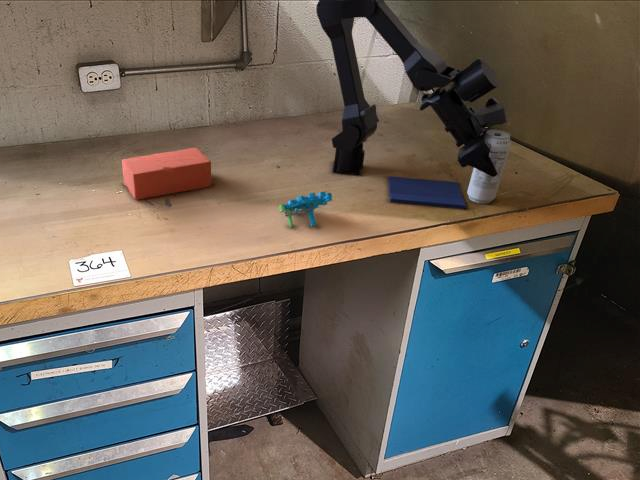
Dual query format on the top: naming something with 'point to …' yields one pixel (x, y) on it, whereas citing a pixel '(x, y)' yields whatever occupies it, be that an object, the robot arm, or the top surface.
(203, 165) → the brick
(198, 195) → the top surface
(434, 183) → the book
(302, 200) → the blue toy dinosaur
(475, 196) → the energy drink can
